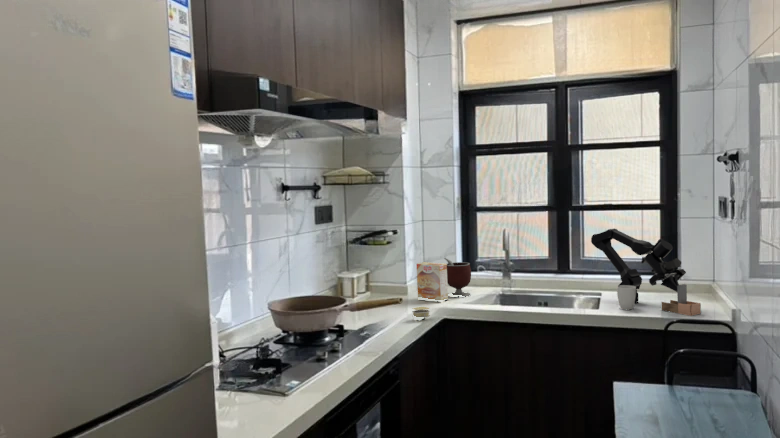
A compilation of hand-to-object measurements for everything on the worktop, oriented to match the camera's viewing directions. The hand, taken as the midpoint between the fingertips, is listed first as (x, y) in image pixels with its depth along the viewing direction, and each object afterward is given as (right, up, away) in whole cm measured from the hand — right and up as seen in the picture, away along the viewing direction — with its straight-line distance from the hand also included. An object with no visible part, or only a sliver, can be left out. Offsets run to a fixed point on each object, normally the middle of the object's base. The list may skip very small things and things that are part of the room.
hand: (680, 292), depth 252 cm
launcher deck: (-1, -9, +3) cm, 9 cm away
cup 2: (+2, -9, -3) cm, 10 cm away
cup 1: (-19, -9, +11) cm, 24 cm away
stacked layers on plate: (-112, -14, +9) cm, 113 cm away
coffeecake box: (-104, -11, +51) cm, 116 cm away
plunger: (+1, -6, 0) cm, 6 cm away
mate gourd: (-90, -10, +61) cm, 109 cm away
